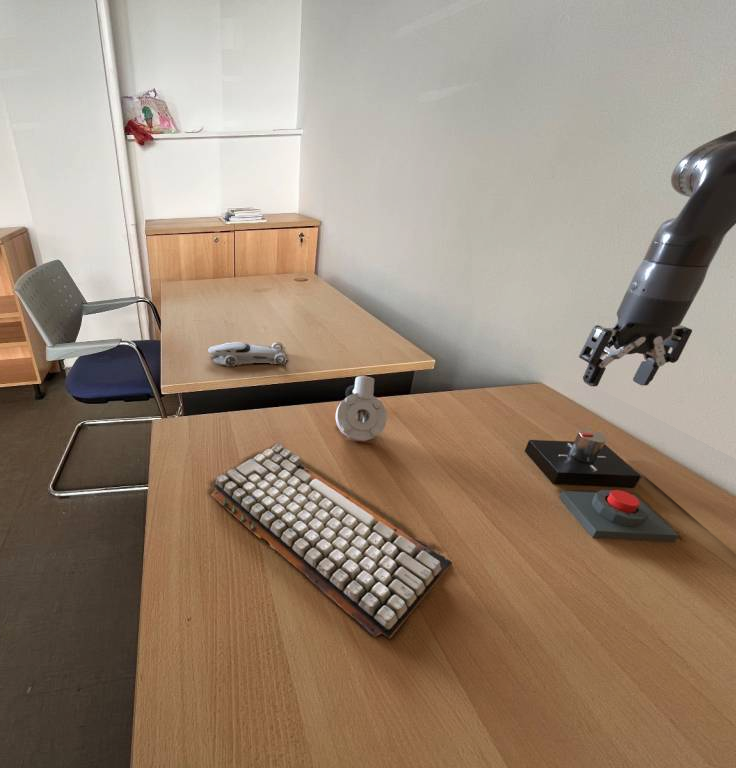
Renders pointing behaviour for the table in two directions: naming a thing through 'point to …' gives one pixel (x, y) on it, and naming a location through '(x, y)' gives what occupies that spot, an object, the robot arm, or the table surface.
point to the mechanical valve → (361, 411)
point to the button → (623, 501)
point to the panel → (580, 466)
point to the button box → (616, 518)
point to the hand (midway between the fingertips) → (614, 383)
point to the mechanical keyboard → (332, 539)
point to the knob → (587, 446)
